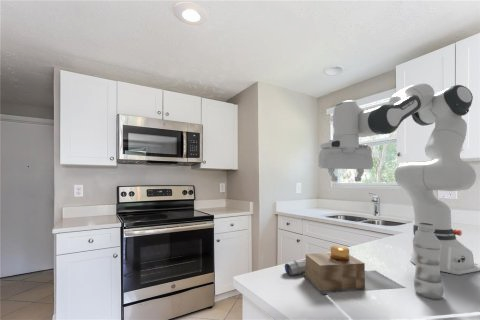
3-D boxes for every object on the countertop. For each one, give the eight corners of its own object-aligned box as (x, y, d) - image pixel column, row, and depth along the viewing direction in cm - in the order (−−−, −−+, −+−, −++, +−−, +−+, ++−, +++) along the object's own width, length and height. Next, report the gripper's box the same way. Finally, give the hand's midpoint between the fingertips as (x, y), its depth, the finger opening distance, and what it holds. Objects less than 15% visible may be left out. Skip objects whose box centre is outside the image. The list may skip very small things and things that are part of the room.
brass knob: (343, 275, 80) (342, 245, 80) (353, 283, 74) (352, 250, 75) (327, 276, 79) (327, 246, 79) (336, 284, 74) (336, 251, 74)
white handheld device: (283, 260, 85) (343, 245, 93) (285, 280, 85) (345, 263, 93) (290, 266, 80) (353, 249, 88) (292, 286, 80) (355, 268, 88)
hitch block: (375, 272, 86) (374, 249, 86) (405, 289, 73) (404, 263, 73) (303, 276, 82) (303, 252, 82) (322, 295, 69) (322, 267, 69)
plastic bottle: (434, 305, 64) (432, 227, 65) (408, 293, 71) (406, 222, 72) (449, 300, 67) (446, 225, 68) (422, 289, 73) (420, 221, 74)
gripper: (365, 145, 97) (366, 181, 96) (316, 144, 94) (316, 180, 93) (376, 144, 91) (377, 181, 90) (324, 142, 88) (324, 181, 87)
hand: (346, 181), depth 92 cm, fingers open, 8 cm apart
